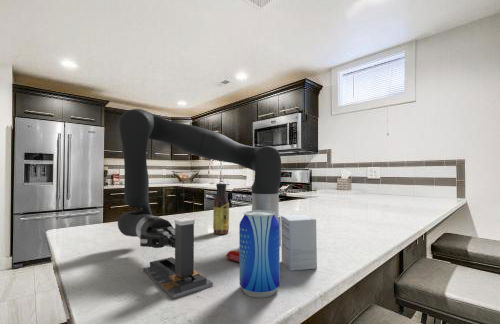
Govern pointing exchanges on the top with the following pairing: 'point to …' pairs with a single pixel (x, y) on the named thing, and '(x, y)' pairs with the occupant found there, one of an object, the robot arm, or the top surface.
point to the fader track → (174, 278)
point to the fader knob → (184, 248)
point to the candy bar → (234, 255)
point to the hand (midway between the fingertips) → (180, 244)
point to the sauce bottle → (221, 211)
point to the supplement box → (299, 242)
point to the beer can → (259, 253)
